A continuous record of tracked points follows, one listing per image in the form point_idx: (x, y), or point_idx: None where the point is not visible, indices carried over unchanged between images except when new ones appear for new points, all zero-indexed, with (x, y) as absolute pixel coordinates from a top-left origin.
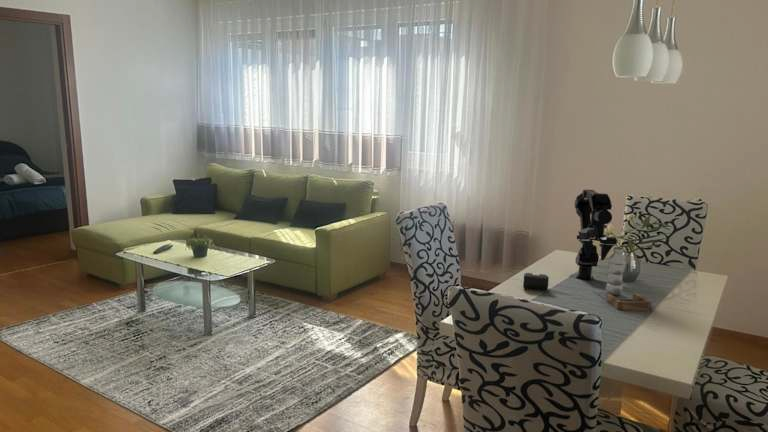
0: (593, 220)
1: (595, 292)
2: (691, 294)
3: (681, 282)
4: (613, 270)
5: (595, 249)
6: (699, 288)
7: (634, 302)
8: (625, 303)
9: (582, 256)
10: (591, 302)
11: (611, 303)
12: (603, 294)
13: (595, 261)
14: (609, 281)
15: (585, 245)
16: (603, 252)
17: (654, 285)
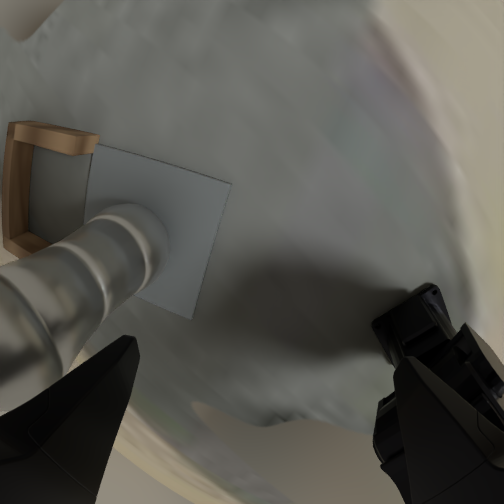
0: None
1: (199, 173)
2: (126, 436)
3: (211, 483)
4: (26, 257)
5: (407, 486)
6: (164, 471)
7: (3, 182)
8: (7, 144)
9: (466, 371)
10: (109, 56)
11: (60, 127)
12: (155, 187)
13: (378, 413)
14: (97, 224)
15: (482, 461)
16: (45, 396)
17: (210, 444)
